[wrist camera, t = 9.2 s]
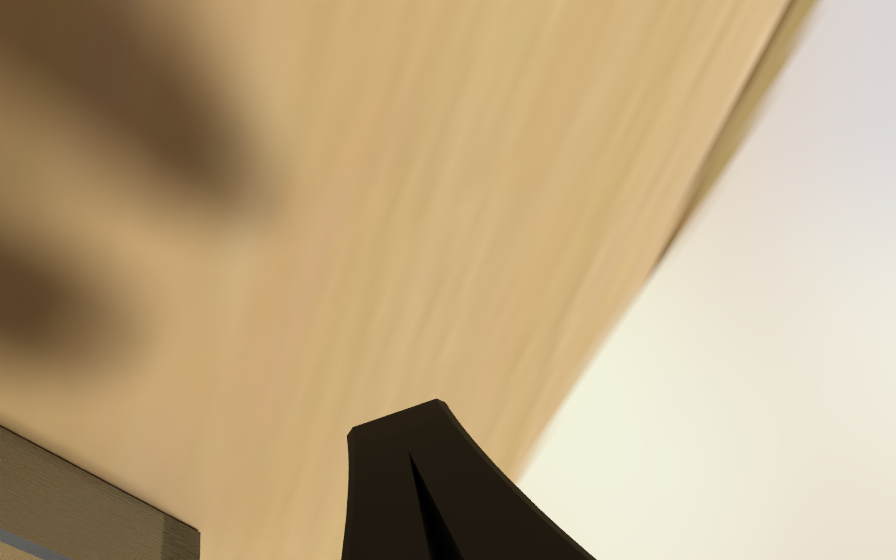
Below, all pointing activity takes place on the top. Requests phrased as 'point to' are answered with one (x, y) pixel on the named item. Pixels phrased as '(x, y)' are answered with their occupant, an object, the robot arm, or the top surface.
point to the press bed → (79, 512)
